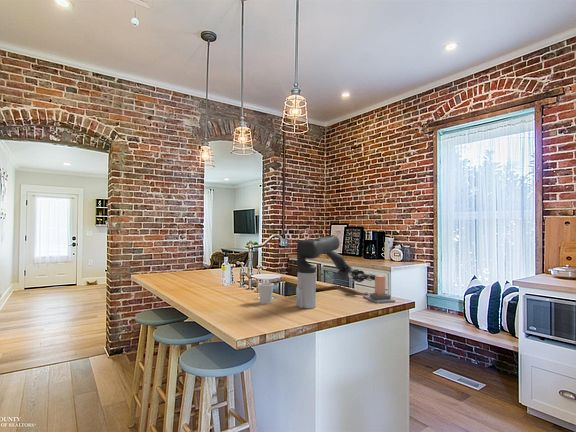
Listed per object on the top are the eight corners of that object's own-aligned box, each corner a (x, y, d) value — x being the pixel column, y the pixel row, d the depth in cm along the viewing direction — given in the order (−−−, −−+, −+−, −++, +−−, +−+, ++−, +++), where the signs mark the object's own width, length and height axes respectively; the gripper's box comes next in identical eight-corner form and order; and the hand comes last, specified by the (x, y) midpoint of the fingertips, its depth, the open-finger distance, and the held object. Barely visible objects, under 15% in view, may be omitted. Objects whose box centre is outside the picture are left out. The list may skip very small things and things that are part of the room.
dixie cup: (274, 301, 178) (274, 282, 179) (272, 304, 170) (272, 285, 170) (259, 300, 179) (259, 282, 180) (256, 304, 171) (256, 284, 171)
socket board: (377, 303, 176) (377, 297, 176) (362, 297, 190) (362, 292, 190) (395, 302, 179) (395, 296, 179) (379, 296, 193) (379, 291, 193)
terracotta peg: (378, 298, 182) (378, 276, 183) (374, 297, 186) (374, 275, 186) (385, 298, 183) (385, 276, 184) (381, 296, 187) (381, 275, 187)
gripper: (346, 269, 209) (358, 272, 193) (366, 268, 213) (380, 272, 197) (346, 281, 209) (358, 285, 193) (366, 280, 213) (380, 285, 197)
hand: (369, 279), depth 195 cm, fingers open, 8 cm apart
